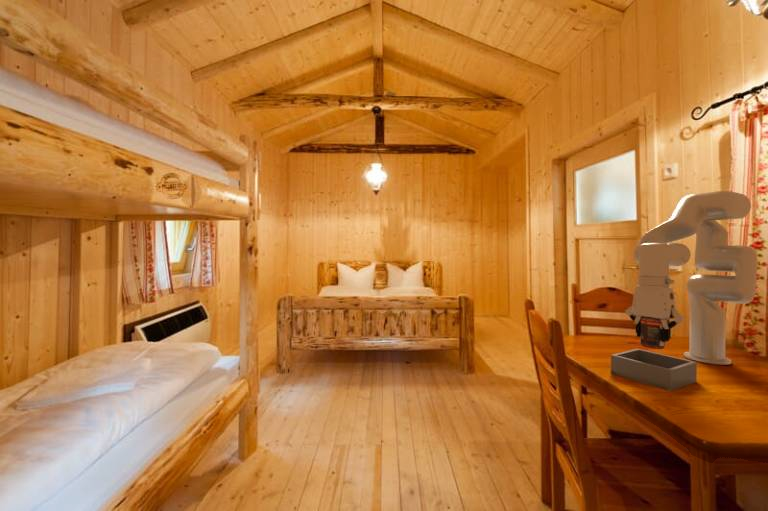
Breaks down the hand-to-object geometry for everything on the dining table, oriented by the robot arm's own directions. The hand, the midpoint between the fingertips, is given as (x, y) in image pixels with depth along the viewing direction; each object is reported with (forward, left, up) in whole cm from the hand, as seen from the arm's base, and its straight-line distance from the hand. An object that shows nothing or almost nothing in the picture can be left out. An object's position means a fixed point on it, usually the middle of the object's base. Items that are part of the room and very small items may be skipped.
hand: (652, 338), depth 105 cm
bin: (0, 0, -12) cm, 12 cm away
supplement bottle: (0, 0, -3) cm, 3 cm away
